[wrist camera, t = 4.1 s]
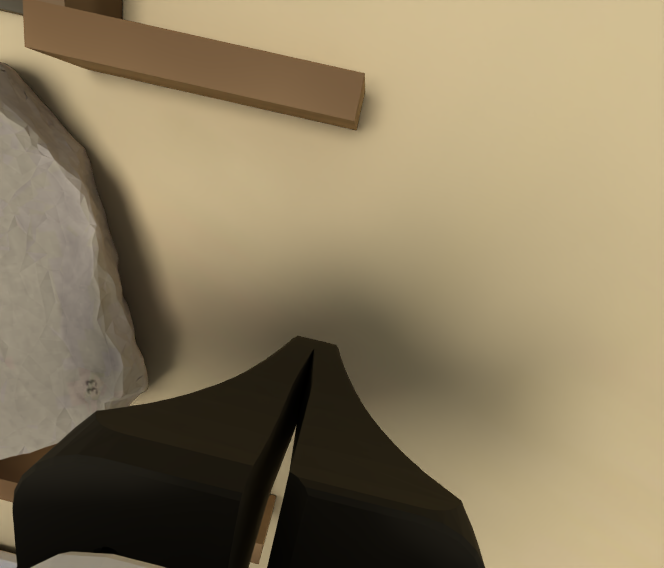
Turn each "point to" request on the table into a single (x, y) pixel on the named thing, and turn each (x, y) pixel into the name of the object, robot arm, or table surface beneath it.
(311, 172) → the table surface
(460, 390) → the table surface
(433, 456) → the table surface
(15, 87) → the stone block
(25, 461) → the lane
